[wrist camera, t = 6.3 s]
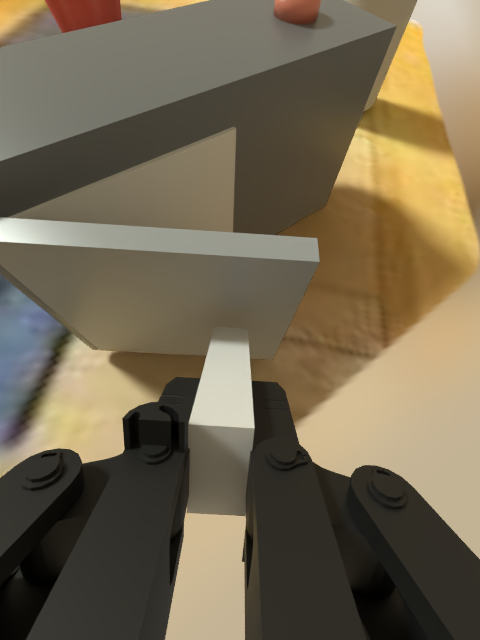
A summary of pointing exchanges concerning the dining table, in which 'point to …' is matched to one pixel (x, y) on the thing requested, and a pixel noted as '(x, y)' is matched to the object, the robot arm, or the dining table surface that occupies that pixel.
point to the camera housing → (188, 115)
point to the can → (395, 7)
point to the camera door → (158, 283)
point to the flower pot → (84, 13)
